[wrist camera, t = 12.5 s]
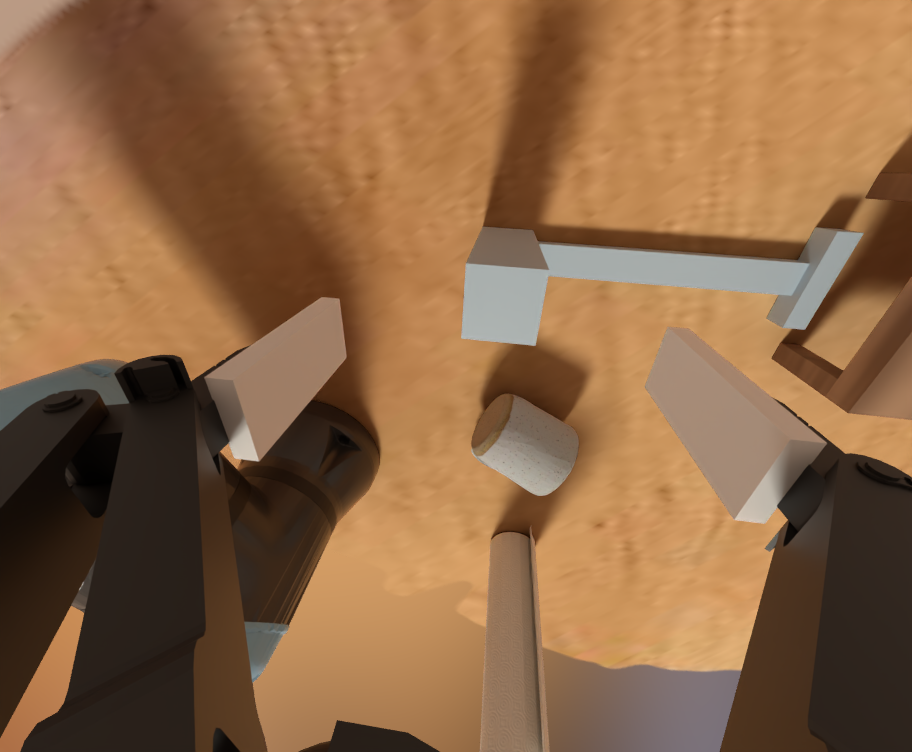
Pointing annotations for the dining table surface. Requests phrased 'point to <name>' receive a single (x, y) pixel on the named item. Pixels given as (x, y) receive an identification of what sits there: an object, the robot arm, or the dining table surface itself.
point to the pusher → (634, 277)
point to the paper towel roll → (513, 651)
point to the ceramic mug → (525, 444)
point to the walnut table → (868, 347)
